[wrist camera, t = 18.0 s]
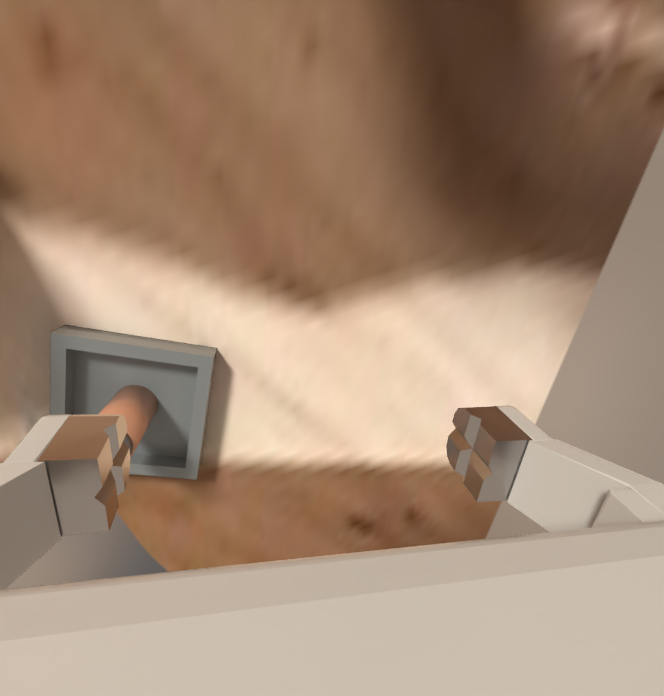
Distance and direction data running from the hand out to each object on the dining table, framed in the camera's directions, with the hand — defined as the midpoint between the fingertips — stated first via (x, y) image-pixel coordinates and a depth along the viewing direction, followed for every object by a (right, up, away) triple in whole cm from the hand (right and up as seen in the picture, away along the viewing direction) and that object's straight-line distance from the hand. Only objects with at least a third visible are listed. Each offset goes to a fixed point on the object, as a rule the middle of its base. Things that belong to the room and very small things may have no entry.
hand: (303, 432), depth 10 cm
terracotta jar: (-18, -3, +28) cm, 33 cm away
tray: (-18, -3, +29) cm, 34 cm away
